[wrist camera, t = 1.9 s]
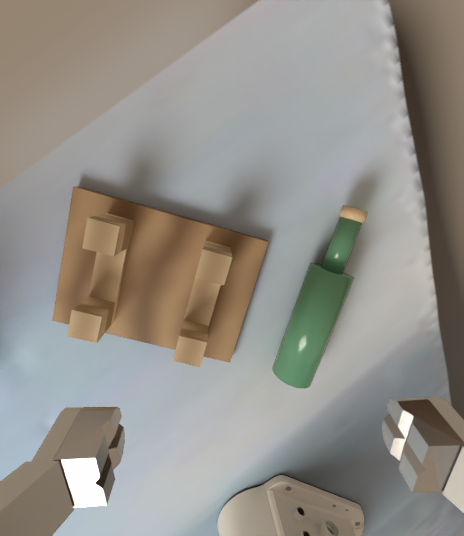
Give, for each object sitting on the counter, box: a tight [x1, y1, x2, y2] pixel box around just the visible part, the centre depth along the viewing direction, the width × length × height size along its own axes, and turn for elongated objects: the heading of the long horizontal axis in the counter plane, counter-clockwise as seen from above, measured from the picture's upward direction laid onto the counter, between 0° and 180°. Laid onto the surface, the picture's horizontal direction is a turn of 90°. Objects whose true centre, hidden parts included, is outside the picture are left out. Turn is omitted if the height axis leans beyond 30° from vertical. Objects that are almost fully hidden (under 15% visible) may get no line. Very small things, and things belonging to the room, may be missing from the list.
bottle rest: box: [53, 187, 269, 367], centre depth 33 cm, size 22×16×6 cm
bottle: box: [273, 205, 368, 388], centre depth 35 cm, size 21×5×5 cm, turn 164°
